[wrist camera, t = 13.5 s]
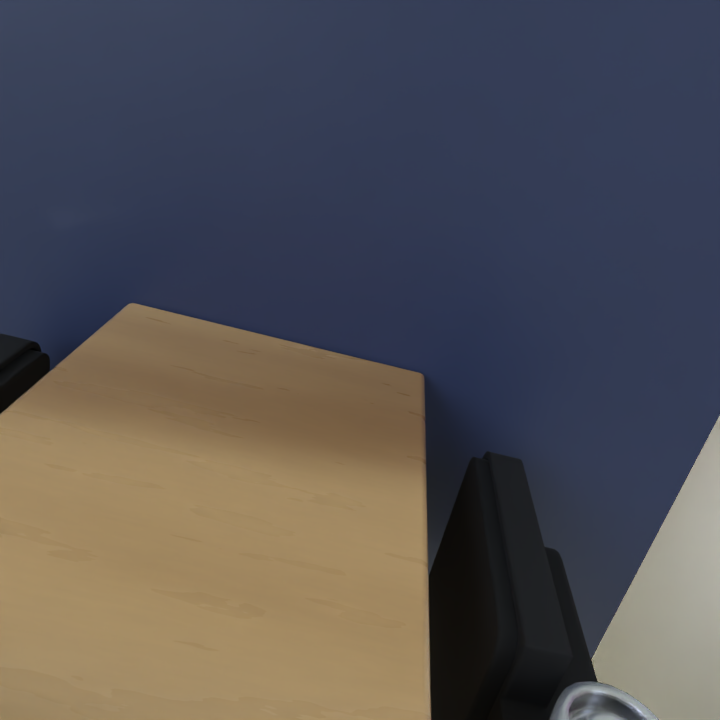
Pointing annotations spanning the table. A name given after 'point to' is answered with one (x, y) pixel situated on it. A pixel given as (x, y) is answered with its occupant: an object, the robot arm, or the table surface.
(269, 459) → the birch block
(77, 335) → the book
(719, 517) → the table surface
